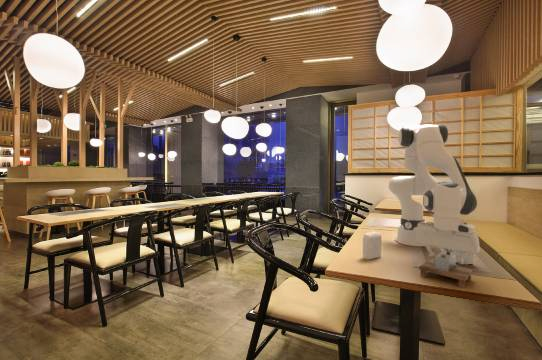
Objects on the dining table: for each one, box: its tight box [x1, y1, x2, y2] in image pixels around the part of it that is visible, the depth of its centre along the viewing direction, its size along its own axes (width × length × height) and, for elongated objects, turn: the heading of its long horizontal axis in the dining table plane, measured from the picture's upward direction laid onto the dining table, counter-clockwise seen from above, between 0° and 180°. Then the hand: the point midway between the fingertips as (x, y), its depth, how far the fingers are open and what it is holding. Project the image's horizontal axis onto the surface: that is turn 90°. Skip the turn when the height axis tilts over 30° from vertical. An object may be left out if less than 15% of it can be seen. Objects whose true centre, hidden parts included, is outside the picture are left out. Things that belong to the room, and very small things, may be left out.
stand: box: [418, 259, 474, 289], centre depth 104 cm, size 12×15×4 cm
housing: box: [434, 251, 457, 272], centre depth 104 cm, size 4×10×6 cm, turn 133°
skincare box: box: [451, 250, 474, 265], centre depth 123 cm, size 8×6×15 cm
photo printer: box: [362, 231, 382, 260], centre depth 128 cm, size 10×4×12 cm, turn 123°
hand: (445, 259), depth 104 cm, fingers open, 8 cm apart
